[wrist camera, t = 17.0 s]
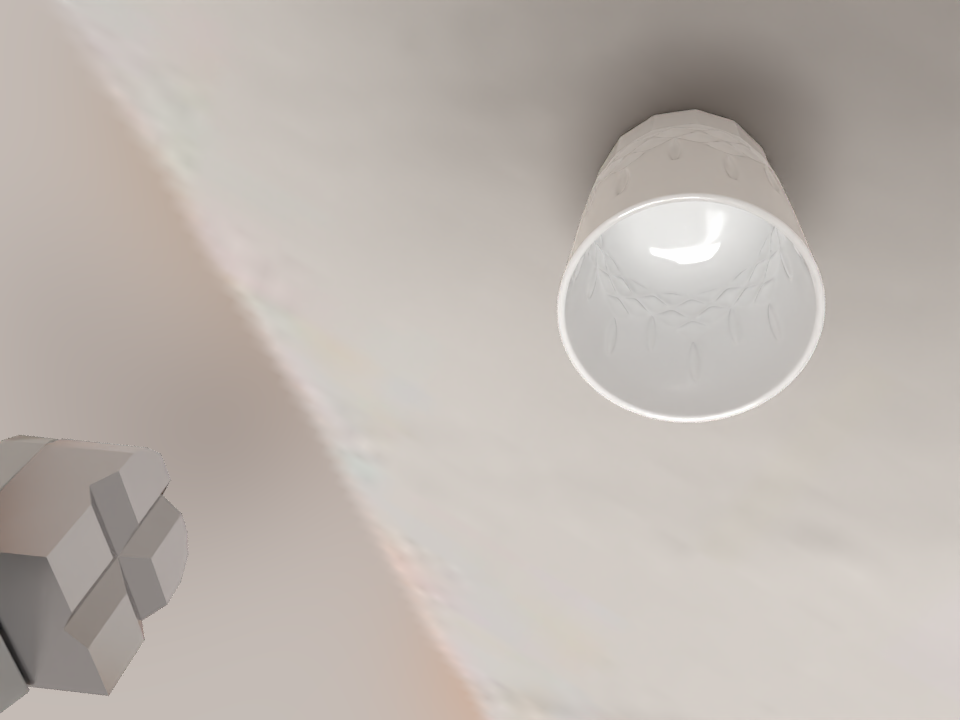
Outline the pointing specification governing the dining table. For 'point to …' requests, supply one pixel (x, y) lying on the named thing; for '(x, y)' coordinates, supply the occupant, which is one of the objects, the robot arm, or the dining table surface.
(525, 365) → the dining table surface
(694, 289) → the white cup
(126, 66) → the dining table surface
